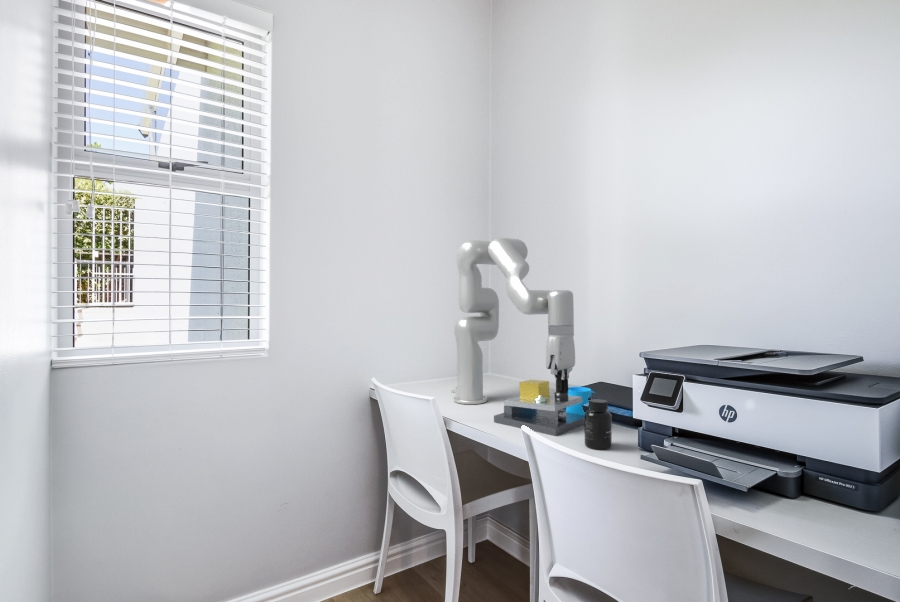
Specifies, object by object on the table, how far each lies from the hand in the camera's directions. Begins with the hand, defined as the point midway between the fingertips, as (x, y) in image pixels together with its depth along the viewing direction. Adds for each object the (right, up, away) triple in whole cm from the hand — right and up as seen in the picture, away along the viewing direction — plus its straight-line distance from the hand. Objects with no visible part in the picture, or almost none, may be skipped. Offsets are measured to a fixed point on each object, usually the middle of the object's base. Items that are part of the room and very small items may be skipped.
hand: (562, 392), depth 145 cm
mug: (+11, -10, +17) cm, 23 cm away
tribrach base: (-5, -10, +5) cm, 13 cm away
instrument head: (-5, -4, +5) cm, 8 cm away
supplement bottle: (+5, -11, -18) cm, 22 cm away
